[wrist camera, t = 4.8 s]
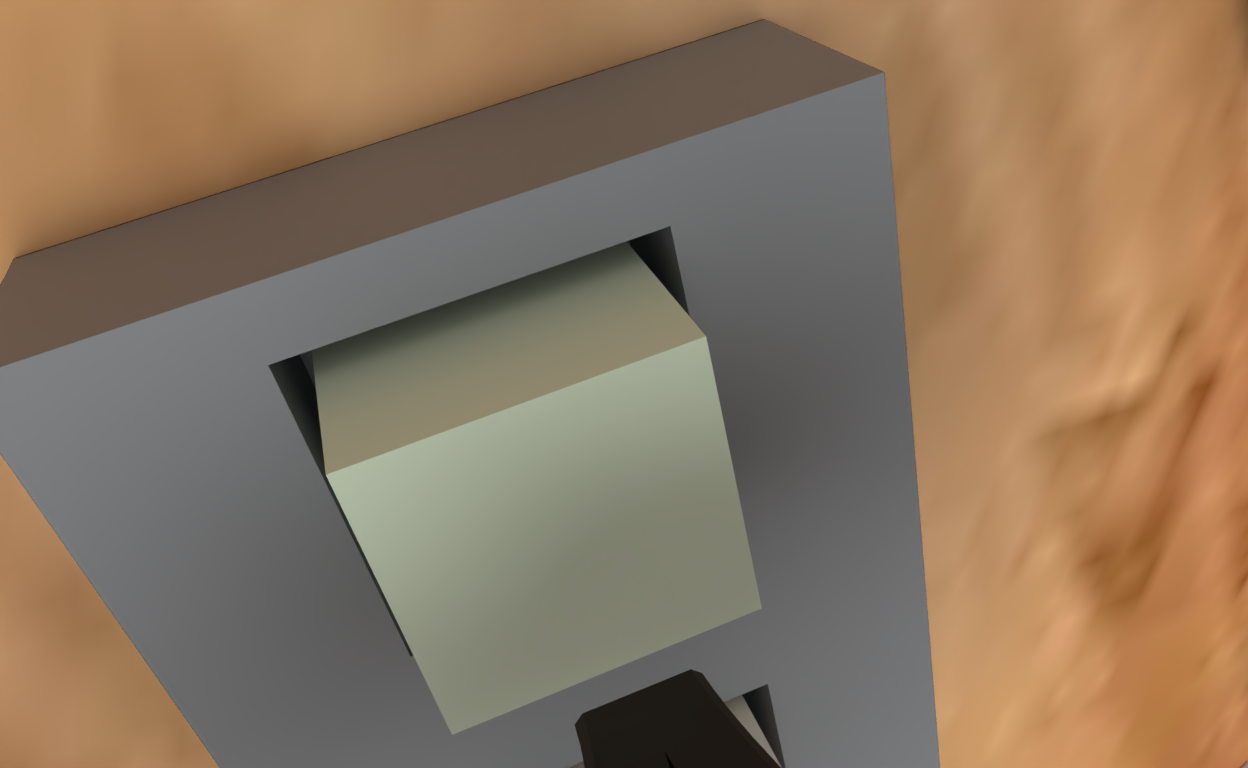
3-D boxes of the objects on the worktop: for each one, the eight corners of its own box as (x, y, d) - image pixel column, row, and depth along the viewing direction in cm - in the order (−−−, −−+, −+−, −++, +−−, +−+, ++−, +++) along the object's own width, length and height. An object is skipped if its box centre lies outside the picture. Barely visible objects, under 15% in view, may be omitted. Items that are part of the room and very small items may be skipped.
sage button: (419, 581, 15) (452, 735, 13) (311, 343, 13) (325, 473, 10) (681, 480, 16) (761, 608, 13) (622, 236, 14) (706, 335, 11)
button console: (508, 1071, 27) (540, 1226, 24) (13, 259, 14) (-49, 383, 11) (887, 897, 28) (960, 1022, 26) (764, 18, 15) (884, 72, 12)
